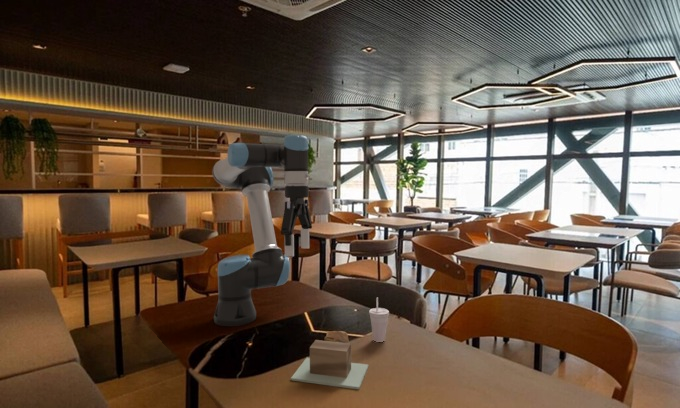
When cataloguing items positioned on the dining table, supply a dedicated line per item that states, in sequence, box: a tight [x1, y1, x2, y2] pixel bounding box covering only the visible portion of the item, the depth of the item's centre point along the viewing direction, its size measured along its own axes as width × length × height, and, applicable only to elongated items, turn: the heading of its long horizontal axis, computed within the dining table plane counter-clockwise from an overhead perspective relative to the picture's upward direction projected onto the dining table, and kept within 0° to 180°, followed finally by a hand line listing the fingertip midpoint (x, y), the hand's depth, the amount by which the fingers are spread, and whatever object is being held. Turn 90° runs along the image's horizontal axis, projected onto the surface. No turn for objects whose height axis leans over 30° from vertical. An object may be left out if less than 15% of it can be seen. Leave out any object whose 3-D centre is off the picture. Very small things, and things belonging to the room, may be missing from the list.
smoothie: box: [368, 297, 390, 343], centre depth 124 cm, size 6×6×14 cm
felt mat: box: [290, 356, 369, 390], centre depth 103 cm, size 18×12×1 cm, turn 75°
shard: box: [324, 330, 350, 343], centre depth 124 cm, size 11×8×2 cm
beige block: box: [309, 339, 352, 378], centre depth 103 cm, size 5×10×7 cm, turn 75°
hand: (297, 252), depth 123 cm, fingers open, 13 cm apart
